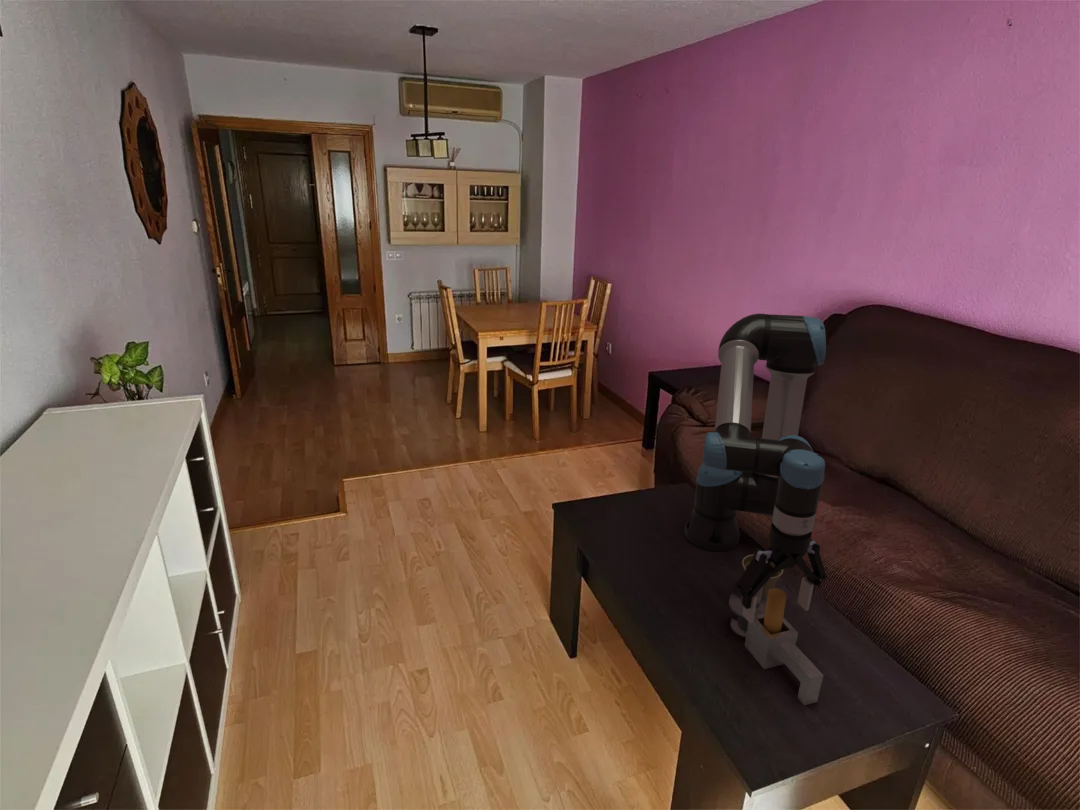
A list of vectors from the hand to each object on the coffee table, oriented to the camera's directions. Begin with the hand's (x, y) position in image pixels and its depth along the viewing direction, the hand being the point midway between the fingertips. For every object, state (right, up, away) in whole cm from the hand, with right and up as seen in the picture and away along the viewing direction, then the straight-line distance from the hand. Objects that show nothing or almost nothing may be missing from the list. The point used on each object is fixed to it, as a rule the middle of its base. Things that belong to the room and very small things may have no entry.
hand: (775, 612), depth 123 cm
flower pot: (+4, -4, +22) cm, 23 cm away
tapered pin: (0, -9, +3) cm, 9 cm away
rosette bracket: (0, -10, +4) cm, 11 cm away
